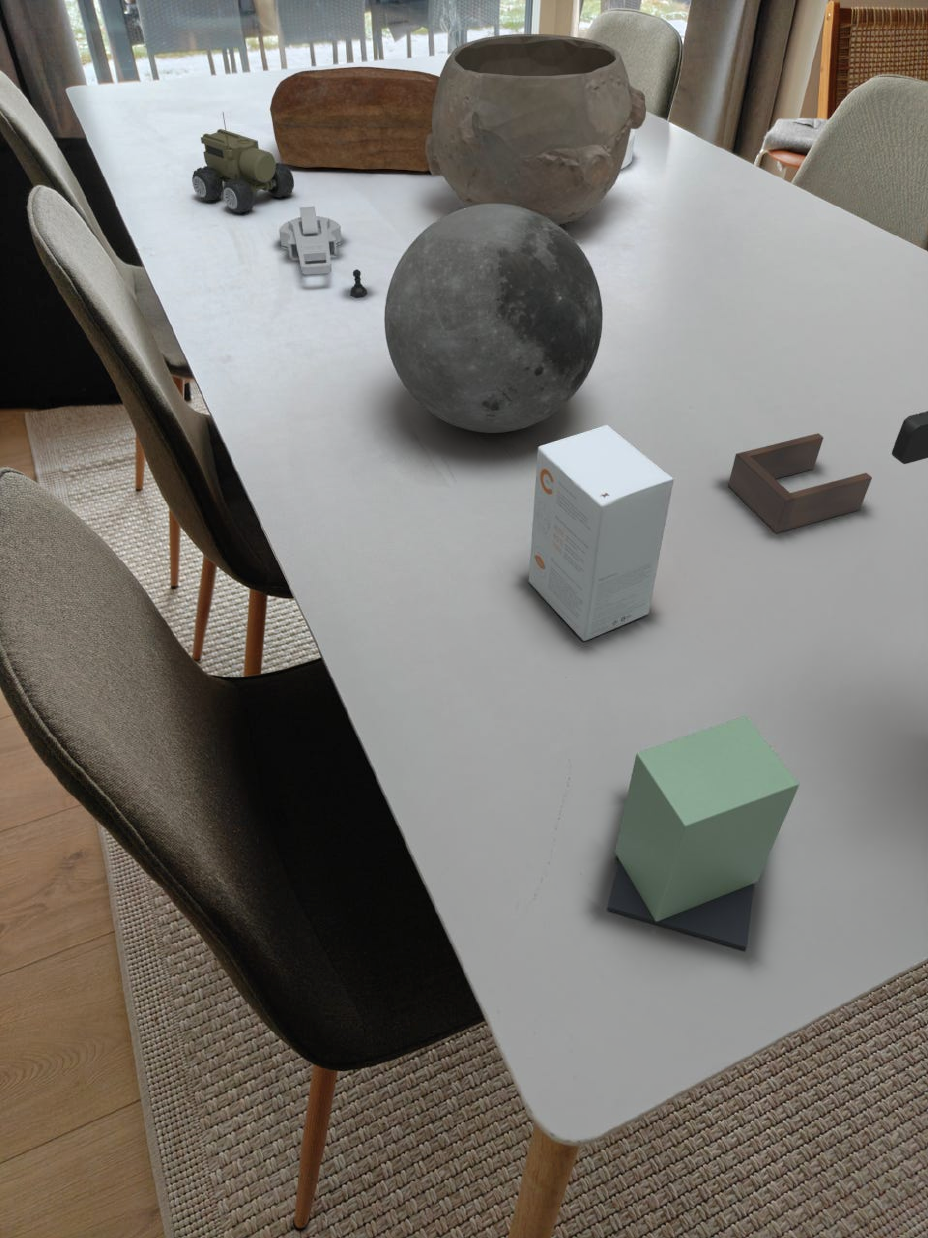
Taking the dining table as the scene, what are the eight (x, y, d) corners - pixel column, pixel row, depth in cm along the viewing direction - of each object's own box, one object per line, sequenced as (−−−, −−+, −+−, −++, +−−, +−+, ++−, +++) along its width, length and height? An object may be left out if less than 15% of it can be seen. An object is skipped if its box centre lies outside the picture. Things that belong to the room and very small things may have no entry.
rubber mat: (758, 835, 59) (759, 831, 58) (745, 950, 53) (746, 947, 53) (632, 802, 60) (633, 798, 60) (607, 910, 55) (607, 907, 55)
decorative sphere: (581, 365, 100) (601, 170, 86) (601, 475, 86) (629, 262, 72) (395, 365, 100) (385, 169, 86) (384, 474, 86) (369, 261, 72)
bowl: (390, 238, 124) (381, 68, 110) (478, 169, 142) (480, 16, 128) (583, 276, 116) (600, 98, 102) (650, 197, 134) (673, 37, 120)
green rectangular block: (712, 816, 59) (746, 715, 52) (757, 882, 56) (800, 783, 49) (614, 852, 57) (636, 752, 50) (655, 923, 54) (685, 826, 47)
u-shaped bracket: (808, 464, 87) (818, 432, 85) (860, 509, 82) (872, 477, 80) (727, 485, 85) (735, 453, 82) (776, 533, 80) (786, 500, 78)
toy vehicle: (248, 178, 139) (234, 89, 131) (299, 196, 134) (289, 105, 126) (192, 199, 133) (174, 107, 125) (243, 218, 128) (228, 124, 120)
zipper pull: (286, 294, 112) (281, 258, 109) (280, 234, 125) (275, 201, 122) (351, 289, 113) (348, 254, 110) (339, 230, 126) (336, 197, 123)
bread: (456, 179, 139) (455, 88, 131) (270, 173, 141) (258, 83, 132) (463, 148, 149) (463, 61, 141) (289, 143, 151) (279, 56, 142)
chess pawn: (346, 295, 112) (344, 270, 110) (355, 288, 113) (353, 263, 111) (361, 298, 111) (359, 273, 109) (369, 291, 113) (368, 267, 111)
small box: (650, 615, 73) (677, 478, 64) (582, 644, 70) (601, 506, 61) (590, 556, 78) (607, 421, 69) (525, 581, 75) (535, 445, 66)
